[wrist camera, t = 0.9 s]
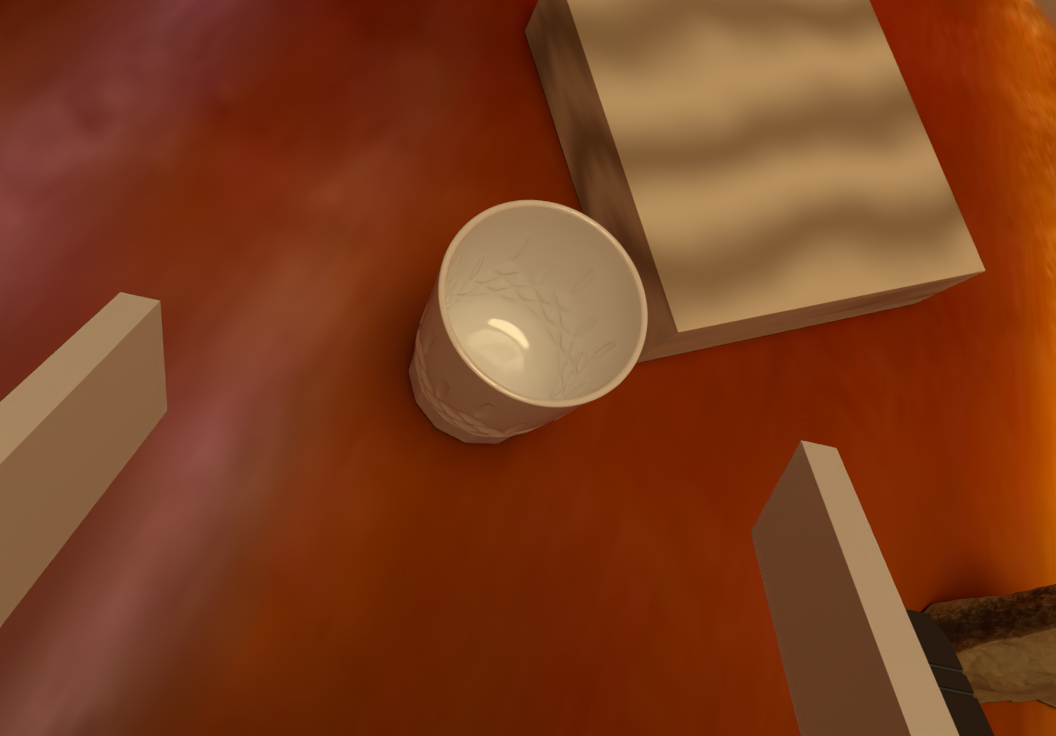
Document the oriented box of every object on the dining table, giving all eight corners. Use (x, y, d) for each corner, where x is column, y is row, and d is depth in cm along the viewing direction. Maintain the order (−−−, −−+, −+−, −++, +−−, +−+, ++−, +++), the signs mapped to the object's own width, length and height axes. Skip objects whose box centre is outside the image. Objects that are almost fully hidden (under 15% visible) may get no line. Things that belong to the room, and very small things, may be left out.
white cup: (380, 309, 35) (416, 208, 26) (534, 288, 38) (615, 191, 29) (416, 473, 34) (468, 426, 25) (574, 439, 37) (674, 385, 28)
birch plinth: (524, 31, 43) (554, -37, 38) (801, 23, 50) (854, -35, 45) (630, 364, 39) (678, 332, 34) (915, 303, 46) (985, 270, 41)
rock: (1141, 645, 41) (1040, 506, 40) (1279, 761, 32) (1157, 591, 31) (960, 743, 43) (860, 615, 42) (1046, 875, 35) (924, 721, 34)
